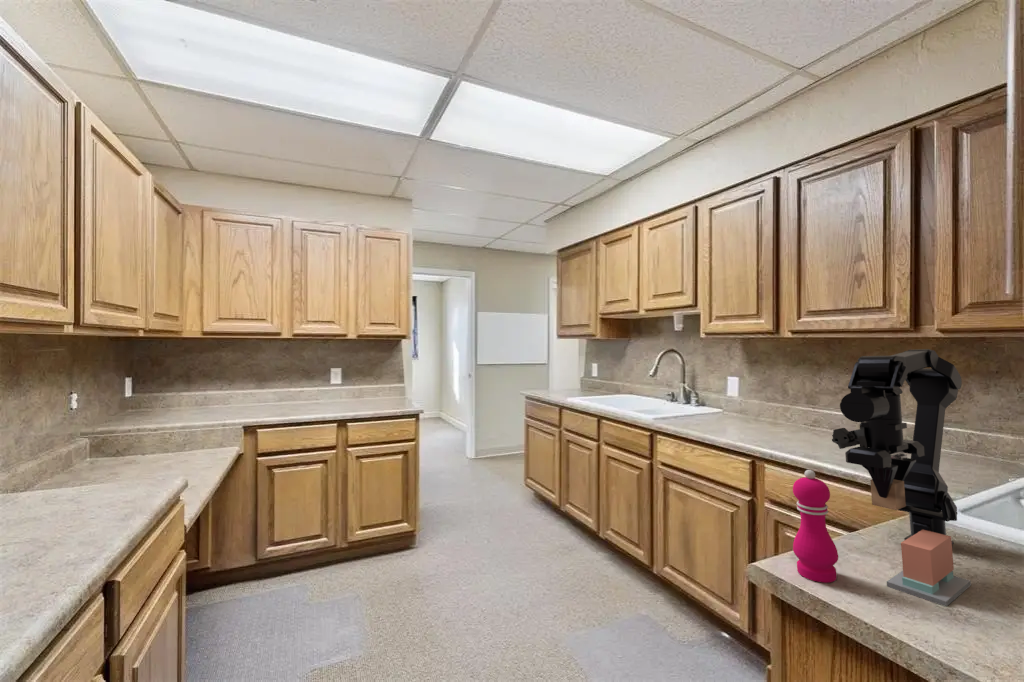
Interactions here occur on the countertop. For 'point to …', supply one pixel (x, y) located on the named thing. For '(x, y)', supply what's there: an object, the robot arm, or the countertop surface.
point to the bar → (927, 557)
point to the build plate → (932, 588)
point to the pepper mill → (814, 531)
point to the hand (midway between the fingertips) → (888, 495)
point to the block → (890, 496)
